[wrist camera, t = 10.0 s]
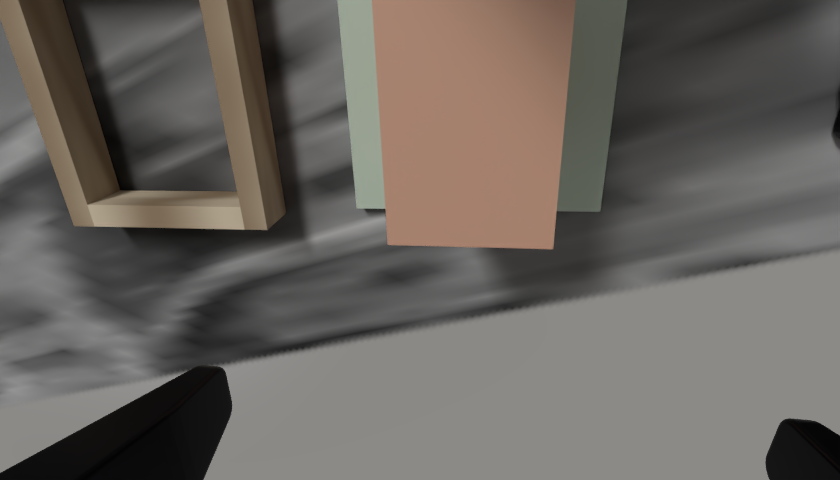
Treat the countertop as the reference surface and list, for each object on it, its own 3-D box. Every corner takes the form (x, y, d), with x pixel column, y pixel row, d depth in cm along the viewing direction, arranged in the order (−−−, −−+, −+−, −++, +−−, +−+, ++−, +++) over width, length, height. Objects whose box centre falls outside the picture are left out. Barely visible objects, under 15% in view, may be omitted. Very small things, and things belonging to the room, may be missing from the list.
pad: (633, -83, 15) (638, -87, 15) (597, 206, 19) (600, 211, 19) (336, -64, 17) (331, -67, 16) (360, 203, 21) (356, 208, 20)
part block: (538, -11, 16) (579, -44, 9) (527, 162, 18) (553, 249, 11) (421, -6, 17) (369, -33, 9) (426, 162, 19) (387, 245, 12)
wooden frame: (240, -74, 17) (211, -86, 15) (286, 213, 21) (267, 230, 20) (21, -59, 18) (-31, -68, 16) (107, 210, 23) (74, 225, 21)
